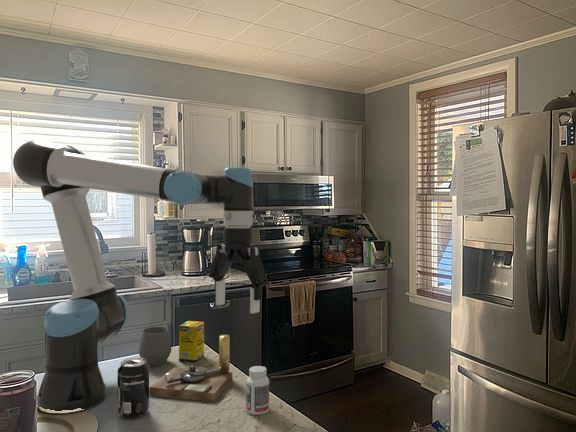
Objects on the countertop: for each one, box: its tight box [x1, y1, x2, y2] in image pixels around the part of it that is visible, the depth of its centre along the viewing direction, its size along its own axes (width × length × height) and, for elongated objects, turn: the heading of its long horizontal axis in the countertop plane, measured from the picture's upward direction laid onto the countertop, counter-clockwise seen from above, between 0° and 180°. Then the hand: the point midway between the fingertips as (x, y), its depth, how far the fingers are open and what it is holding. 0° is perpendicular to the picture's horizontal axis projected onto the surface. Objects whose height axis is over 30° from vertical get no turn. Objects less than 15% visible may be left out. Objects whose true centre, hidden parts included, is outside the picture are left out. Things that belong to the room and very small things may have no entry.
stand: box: [149, 366, 233, 403], centre depth 120 cm, size 17×14×2 cm
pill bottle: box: [245, 365, 270, 416], centre depth 107 cm, size 5×5×10 cm
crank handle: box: [163, 334, 231, 384], centre depth 120 cm, size 18×6×10 cm, turn 123°
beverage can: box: [117, 357, 150, 420], centre depth 104 cm, size 7×7×12 cm
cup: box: [138, 326, 172, 367], centre depth 137 cm, size 10×9×10 cm
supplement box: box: [178, 320, 205, 363], centre depth 141 cm, size 6×6×11 cm
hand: (236, 308), depth 121 cm, fingers open, 12 cm apart
